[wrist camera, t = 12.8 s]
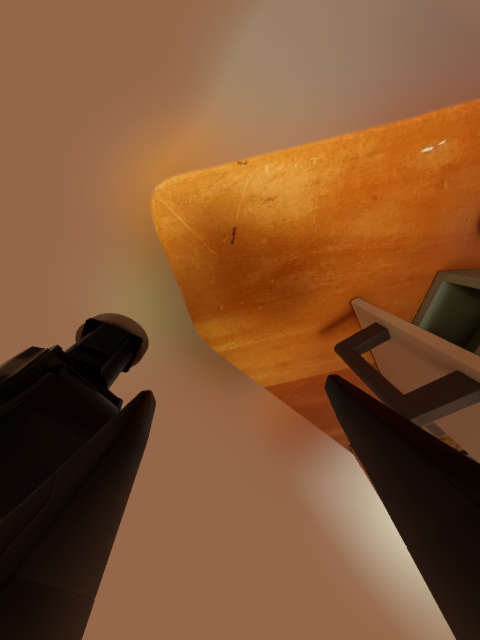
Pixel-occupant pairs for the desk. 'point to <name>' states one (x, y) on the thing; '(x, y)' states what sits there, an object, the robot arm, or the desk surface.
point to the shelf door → (417, 374)
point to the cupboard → (453, 309)
